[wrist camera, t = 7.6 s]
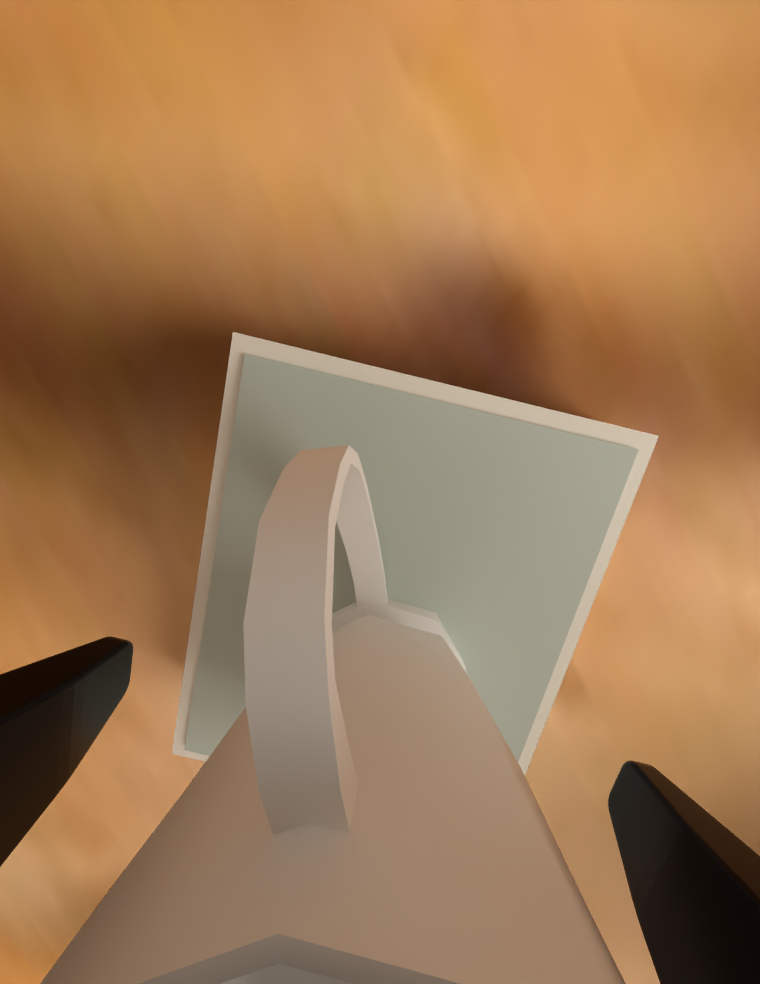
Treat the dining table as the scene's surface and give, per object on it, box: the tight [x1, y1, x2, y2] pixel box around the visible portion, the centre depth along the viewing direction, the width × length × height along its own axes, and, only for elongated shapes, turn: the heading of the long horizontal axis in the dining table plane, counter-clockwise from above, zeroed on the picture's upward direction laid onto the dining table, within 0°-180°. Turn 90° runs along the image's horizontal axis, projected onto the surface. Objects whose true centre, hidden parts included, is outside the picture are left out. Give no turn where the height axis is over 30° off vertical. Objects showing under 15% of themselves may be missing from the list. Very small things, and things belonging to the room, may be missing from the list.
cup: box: [41, 445, 625, 984], centre depth 8 cm, size 7×10×8 cm
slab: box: [172, 332, 659, 776], centre depth 13 cm, size 12×10×3 cm
